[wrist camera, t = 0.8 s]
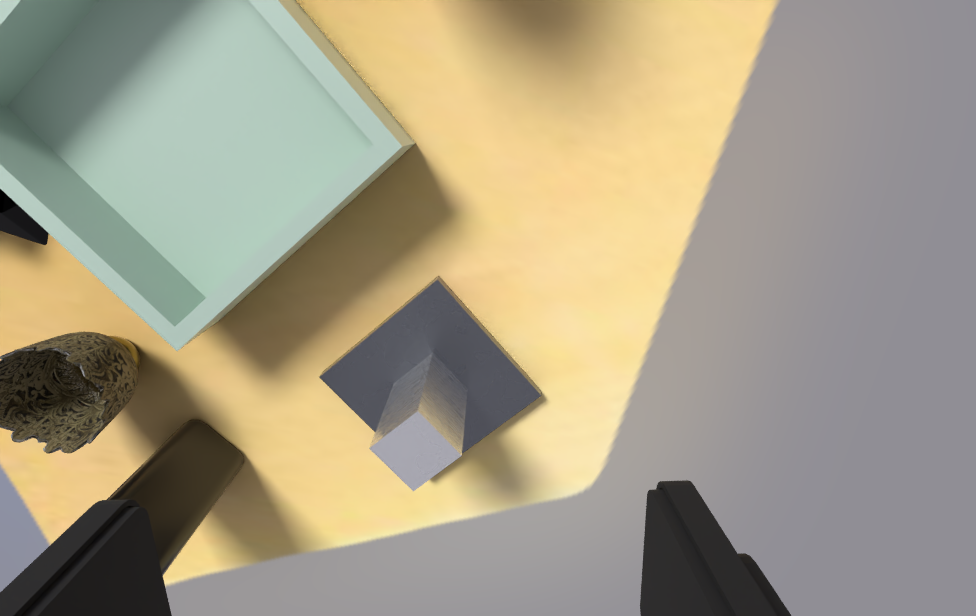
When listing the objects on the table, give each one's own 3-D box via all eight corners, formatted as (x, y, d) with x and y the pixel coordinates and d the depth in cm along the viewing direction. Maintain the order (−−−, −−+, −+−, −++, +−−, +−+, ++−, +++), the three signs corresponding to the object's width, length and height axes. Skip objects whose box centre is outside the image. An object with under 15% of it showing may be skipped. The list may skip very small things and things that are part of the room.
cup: (182, 336, 43) (115, 382, 35) (153, 412, 45) (84, 471, 37) (85, 292, 42) (-6, 330, 34) (60, 373, 44) (-30, 425, 36)
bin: (190, -125, 33) (128, -176, 28) (415, 143, 38) (402, 146, 33) (-7, 104, 38) (-96, 100, 32) (219, 320, 42) (177, 351, 37)
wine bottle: (153, 454, 46) (-397, 992, 18) (196, 412, 45) (-321, 918, 16) (208, 497, 47) (-220, 1063, 19) (251, 457, 46) (-138, 999, 18)
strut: (432, 352, 42) (417, 411, 33) (467, 389, 43) (461, 455, 34) (393, 383, 43) (369, 448, 34) (428, 419, 44) (413, 491, 35)
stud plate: (438, 275, 41) (432, 293, 37) (540, 389, 44) (545, 418, 40) (322, 371, 44) (304, 399, 39) (426, 473, 46) (419, 510, 42)
